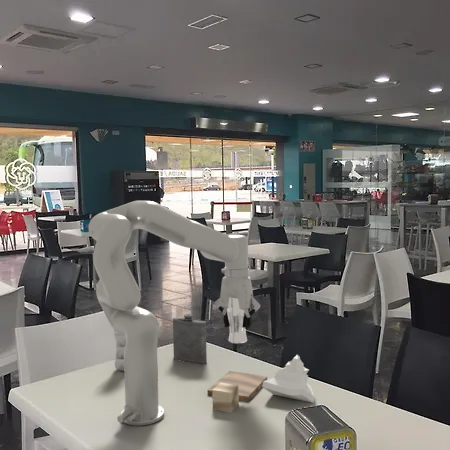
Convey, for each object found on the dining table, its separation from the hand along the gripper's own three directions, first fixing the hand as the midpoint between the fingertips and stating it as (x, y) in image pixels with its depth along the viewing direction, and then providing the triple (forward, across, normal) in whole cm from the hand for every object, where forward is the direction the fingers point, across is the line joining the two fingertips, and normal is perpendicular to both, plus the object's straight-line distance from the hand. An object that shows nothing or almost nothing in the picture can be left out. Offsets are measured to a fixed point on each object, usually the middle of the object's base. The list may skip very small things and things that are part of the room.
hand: (237, 326), depth 169 cm
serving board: (+20, 0, 0) cm, 20 cm away
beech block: (+20, +2, -15) cm, 25 cm away
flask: (+21, -27, +17) cm, 38 cm away
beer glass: (+5, 0, 0) cm, 5 cm away
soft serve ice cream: (+21, +19, -1) cm, 28 cm away
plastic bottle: (+21, -45, 0) cm, 50 cm away
